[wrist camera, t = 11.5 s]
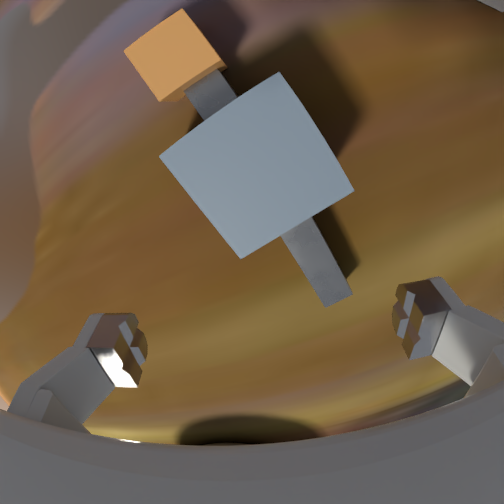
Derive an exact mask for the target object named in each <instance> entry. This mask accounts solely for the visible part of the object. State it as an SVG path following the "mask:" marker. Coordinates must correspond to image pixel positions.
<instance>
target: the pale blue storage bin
mask: <svg viewBox="0 0 504 504" xmlns="http://www.w3.org/2000/svg"><path fill="white" fill-rule="evenodd" d="M159 157H160V159H161V160H162V161H163V162H164V164H165V165H166V166H167V167H168V169H169V170H170V171H171V173H172V174H173V175H174V176H175V178H176V179H177V180H178V181H179V183H180V184H181V185H182V186H183V188H184V189H185V190H186V192H187V193H188V194H189V195H190V197H191V198H192V199H193V200H194V202H195V203H196V204H197V205H198V207H199V208H200V209H201V210H202V212H203V213H204V214H205V215H206V217H207V218H208V219H209V220H210V222H211V223H212V224H213V225H214V227H215V228H216V229H217V230H218V232H219V233H220V234H221V235H222V237H223V238H224V239H225V240H226V242H227V243H228V244H229V245H230V247H231V248H232V249H233V250H234V251H235V253H236V254H237V255H238V256H239V258H240V259H242V258H244V257H245V256H247V255H249V254H250V253H252V252H254V251H255V250H257V249H259V248H260V247H262V246H264V245H265V244H267V243H269V242H270V241H272V240H274V239H275V238H277V237H279V236H280V235H282V234H283V233H285V232H287V231H288V230H290V229H292V228H293V227H295V226H297V225H298V224H300V223H302V222H303V221H305V220H307V219H308V218H310V217H312V216H313V215H315V214H317V213H318V212H320V211H322V210H323V209H325V208H327V207H328V206H330V205H332V204H333V203H335V202H337V201H338V200H340V199H342V198H343V197H345V196H347V195H348V194H350V193H352V192H353V191H354V189H353V187H352V186H351V184H350V182H349V180H348V178H347V177H346V175H345V173H344V171H343V170H342V168H341V166H340V164H339V163H338V161H337V159H336V157H335V156H334V154H333V152H332V151H331V149H330V147H329V146H328V144H327V142H326V141H325V139H324V137H323V136H322V134H321V133H320V131H319V129H318V128H317V126H316V125H315V123H314V122H313V120H312V118H311V117H310V115H309V114H308V112H307V111H306V109H305V108H304V106H303V105H302V103H301V102H300V100H299V99H298V97H297V96H296V94H295V93H294V92H293V90H292V89H291V87H290V86H289V84H288V83H287V82H286V80H285V79H284V77H283V76H282V75H281V73H280V72H278V73H276V74H274V75H273V76H271V77H269V78H268V79H266V80H264V81H263V82H261V83H260V84H258V85H256V86H255V87H253V88H252V89H250V90H249V91H247V92H246V93H244V94H242V95H241V96H239V97H238V98H236V99H235V100H233V101H232V102H231V103H229V104H228V105H226V106H225V107H223V108H222V109H220V110H219V111H218V112H216V113H215V114H213V115H212V116H211V117H209V118H208V119H206V120H205V121H204V122H202V123H201V124H200V125H198V126H197V127H196V128H194V129H193V130H192V131H190V132H189V133H188V134H186V135H185V136H184V137H182V138H181V139H180V140H179V141H177V142H176V143H175V144H173V145H172V146H171V147H170V148H168V149H167V150H166V151H165V152H164V153H162V154H161V155H160V156H159Z"/></svg>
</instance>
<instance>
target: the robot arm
mask: <svg viewBox="0 0 504 504" xmlns="http://www.w3.org/2000/svg"><path fill="white" fill-rule="evenodd" d="M396 297H397V299H398V301H397V303H396V304H395V305H394V306H393V311H392V323H393V327H394V330H395V332H396V334H397V335H398V336H400V337H401V338H403V342H402V346H403V348H404V350H405V353H406V355H407V357H408V359H409V360H412V359H416V358H421V357H425V356H429V355H432V356H433V357H434V358H435V359H437V360H438V361H439V362H441V363H442V364H443V365H444V366H446V367H447V368H448V369H450V370H451V371H452V372H453V373H455V374H456V375H457V376H459V377H460V378H461V379H462V380H464V381H465V382H466V383H468V384H469V385H470V386H471V387H470V389H469V390H468V392H467V394H466V395H465V397H464V398H463V399H461V400H458V401H456V402H453V403H450V404H448V405H445V406H442V407H439V408H437V409H434V410H431V411H428V412H425V413H422V414H419V415H416V416H412V417H409V418H406V419H402V420H399V421H395V422H391V423H388V424H384V425H380V426H376V427H372V428H367V429H363V430H358V431H354V432H349V433H343V434H338V435H333V436H327V437H320V438H314V439H307V440H299V441H290V442H281V443H269V444H255V445H232V446H196V445H173V444H159V443H148V442H139V441H131V440H123V439H116V438H110V437H104V436H98V435H93V434H91V433H90V432H89V431H88V430H87V429H86V428H85V427H84V426H83V425H82V424H83V423H84V422H85V420H86V419H87V418H88V417H89V416H90V415H91V414H92V413H93V412H94V410H95V409H96V408H97V407H98V406H99V405H100V404H101V403H102V402H103V401H104V399H105V398H106V397H107V396H108V395H109V394H110V393H111V392H112V391H113V390H114V388H115V387H138V384H139V381H140V377H141V374H142V370H141V368H140V365H141V364H142V363H143V362H145V361H146V357H147V346H148V345H147V341H146V337H145V335H144V333H143V332H142V331H140V330H139V329H138V328H137V326H138V323H139V322H138V320H137V318H136V316H135V314H133V313H105V314H104V313H98V314H92V315H90V316H89V318H88V320H87V321H86V323H85V325H84V327H83V329H82V330H81V332H80V334H79V336H78V338H77V339H76V341H75V343H74V345H73V347H68V348H67V349H66V350H64V351H63V352H62V353H60V354H59V355H58V356H56V357H55V358H54V359H52V360H51V361H50V362H48V363H47V364H46V365H44V366H43V367H42V368H40V369H39V370H38V371H36V372H35V373H34V374H32V375H31V376H30V377H29V378H27V379H26V380H25V381H23V382H22V383H21V384H20V386H19V388H18V390H17V392H16V394H15V396H14V398H13V400H12V402H11V404H10V406H9V408H8V410H7V411H5V410H2V409H0V504H504V322H502V321H500V320H498V319H496V318H494V317H492V316H490V315H488V314H486V313H484V312H482V311H479V310H477V309H475V308H473V307H471V306H465V305H464V304H463V303H462V301H461V300H460V299H459V297H458V296H457V295H456V294H455V292H454V291H453V290H452V289H451V288H450V286H449V285H448V284H447V283H446V281H445V280H444V279H443V278H442V277H439V276H438V277H434V278H429V279H426V280H421V281H415V282H410V283H404V284H399V285H398V287H397V290H396Z"/></svg>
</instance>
